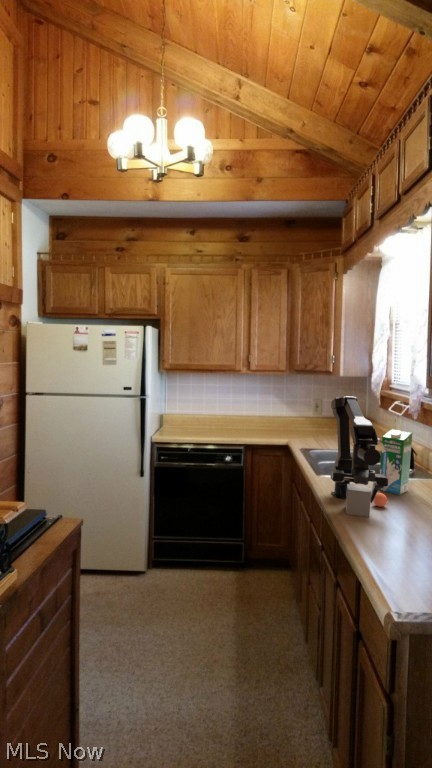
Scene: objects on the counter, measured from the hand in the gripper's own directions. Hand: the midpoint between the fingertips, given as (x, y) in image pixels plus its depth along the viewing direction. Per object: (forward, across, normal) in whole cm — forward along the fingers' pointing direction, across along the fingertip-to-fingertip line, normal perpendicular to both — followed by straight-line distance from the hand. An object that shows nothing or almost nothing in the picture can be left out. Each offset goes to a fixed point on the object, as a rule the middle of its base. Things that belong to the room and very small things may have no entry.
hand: (357, 501), depth 164 cm
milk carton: (+4, +17, +34) cm, 38 cm away
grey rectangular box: (+4, 0, 0) cm, 4 cm away
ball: (+1, +9, +10) cm, 13 cm away
